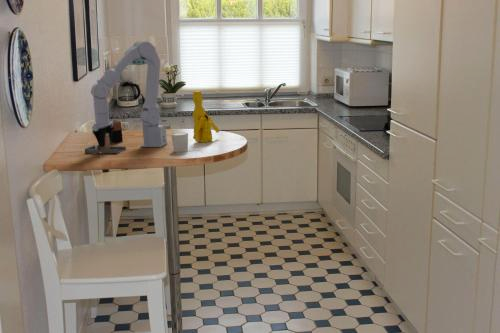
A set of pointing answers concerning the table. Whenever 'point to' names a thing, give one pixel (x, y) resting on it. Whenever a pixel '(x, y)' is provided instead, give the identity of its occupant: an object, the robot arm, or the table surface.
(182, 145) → the beige cylinder
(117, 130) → the battery
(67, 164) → the table surface
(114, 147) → the frame
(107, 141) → the jar
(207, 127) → the figure statuette
